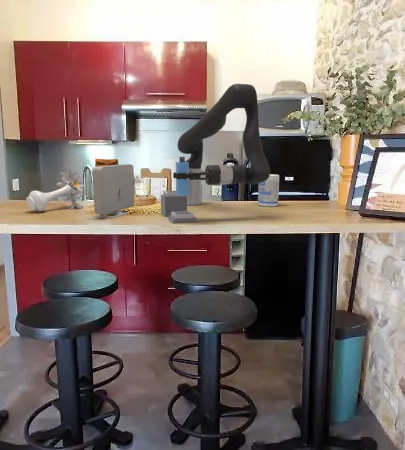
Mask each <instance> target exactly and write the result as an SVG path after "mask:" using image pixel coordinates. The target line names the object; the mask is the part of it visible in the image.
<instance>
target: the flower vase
mask: <svg viewBox="0 0 405 450" xmlns="http://www.w3.org/2000/svg"><path fill="white" fill-rule="evenodd" d="M59 174H60V175H62V176H61V182H57V183H56V186H57V187H59V189H56V190H53V191H50V192H42V191H40V190H31V191H30V192H29V194H28V196H27V197H26V198H25V199H26V200H25V201H26V204H27V207H28V208H29V210H31V211H35V212H38V213H40V212H43V211H44V210H46V208H47V205H48V204H49V203H50V202H51V201H53V200H54V199H57V198H59V197H62V196H65V195H66V196H65V198H64V202H69V201H70V203H71V204H70V205H68V206H66V207H65V208H66V209H71V210H72V209H74V208H77V209H82V207H83V206H82V205H80V204H79V203H77V202H76V199H80V198H81V197H82V196H81V194H79V193H81V192H82V191H83V188H81V187H84V186H85V184H84V183H83V182H81V177H80V175H78V172H73V173H72V170H71V169H68V170H67V171H66V172H63V171H59ZM76 175H77V177H75V176H76ZM67 179H68V181H67Z"/></svg>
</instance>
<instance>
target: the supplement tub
mask: <svg viewBox="0 0 405 450" xmlns="http://www.w3.org/2000/svg"><path fill="white" fill-rule="evenodd" d="M279 191H280V175H279V174H271V173H270V176H269V178H268V179H267V180H266V181H264V182H262V183H259V184H258V191H257V193H258V194H257V195H258V196H257V204H258V206H260V207H265V208H266V207H277V206H278V205H279V196H280V195H279Z"/></svg>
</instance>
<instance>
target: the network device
mask: <svg viewBox="0 0 405 450" xmlns="http://www.w3.org/2000/svg"><path fill="white" fill-rule="evenodd" d="M134 176H135V175H134V165H133V164H128V163H127V164H119V165H110V166H98V167H95V166H94V167H93V168H92V183H93V185H92V187H93V188H92V189H93V208H94V213H95V214H96V215H95V217H96V218H100V219H116V218H120V217H122V216H126V215H128V214H127V213H128V212H125V211H124V212H123V211H121V210H122V209H123V210H127V209H129V208H133V207H134V205H135V186H134V185H135V181H134V179H135V177H134ZM106 214H113V215H106Z"/></svg>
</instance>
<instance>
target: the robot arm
mask: <svg viewBox="0 0 405 450" xmlns="http://www.w3.org/2000/svg"><path fill="white" fill-rule="evenodd" d="M236 109H244V111H245V114H246V120H245V121H246V122H245V127H244V130H243V134H242V145H243V149H244V154H245V158H246V159H247V160H248V161H250V163H251V164H250V165H251V166H252V167H251V166H250V167H249V166H247V167H246V166H243V165H227V164H210V165H209V164H208V165H206V166H205V167H204V168H205V169H204V170H203V169H202V165H203V158H204V157H203V156H204V155H203V153H204V152H203V151H204V140H205V139H208V138H210V137H212V136H214V135H216V134H217V133H219V131H221V130H222V129H223V128H224V126H225V125H226V122H227V115H228V114H229V113H230V112H232V111H234V110H236ZM263 148H264V147H263V144H262V138H261V134H260V125H259V105H258V95H257V90H256V87H255V86H254V85H252V84H247V83H234V84H231V85H230V86H228V88H227V89H226V90H225V92H224V93H223V94H222V95H221V97H220V98H219V99H218V101H216V103H215V104H214V105H213V106H212V107H211V108H210V109H209V110H208V111H207V112H206V113H205V114H204V115H203V116H202V117H201V118H200V119H198V121H197V122H196V123H195V124H194V125H193V126H191V128H189V129H188V130H187V131H185V132H184V133H182V134H181V135H180V137H179V139H178V141H177V150H178V151H179V152H180V153H182V154H185V155H190V157H189V158H188V159H187V160H185V162H189V172H187V174H186V173H176V171H174V172H173V175H172V177H173V179H175V180H176V179H186V178H187V179H188V180H189V195H185V196H187V206H198V205H202V204H203V184H202V182H204V181H205V184H206V185H207V186H223V185H232V184H234V185H236V184H243V185H244V184H246V185H259V183H262V182H264V181H266V180H267V179H268V178H269V176H270V174H271V168H270V165H269V162H268V159H267V157H266V155H265V153H264V149H263Z"/></svg>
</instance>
